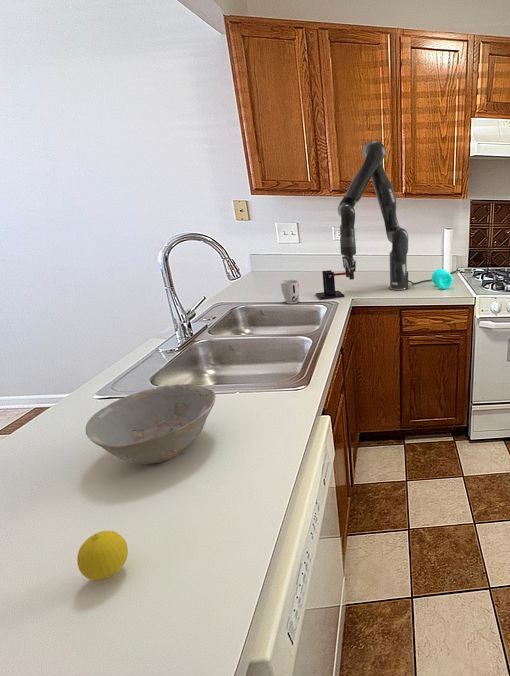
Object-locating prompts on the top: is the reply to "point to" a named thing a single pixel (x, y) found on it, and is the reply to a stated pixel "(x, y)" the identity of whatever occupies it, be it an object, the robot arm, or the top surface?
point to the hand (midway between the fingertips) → (349, 278)
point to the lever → (341, 273)
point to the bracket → (329, 287)
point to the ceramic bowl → (152, 422)
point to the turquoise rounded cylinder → (440, 282)
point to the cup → (290, 291)
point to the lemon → (102, 555)
